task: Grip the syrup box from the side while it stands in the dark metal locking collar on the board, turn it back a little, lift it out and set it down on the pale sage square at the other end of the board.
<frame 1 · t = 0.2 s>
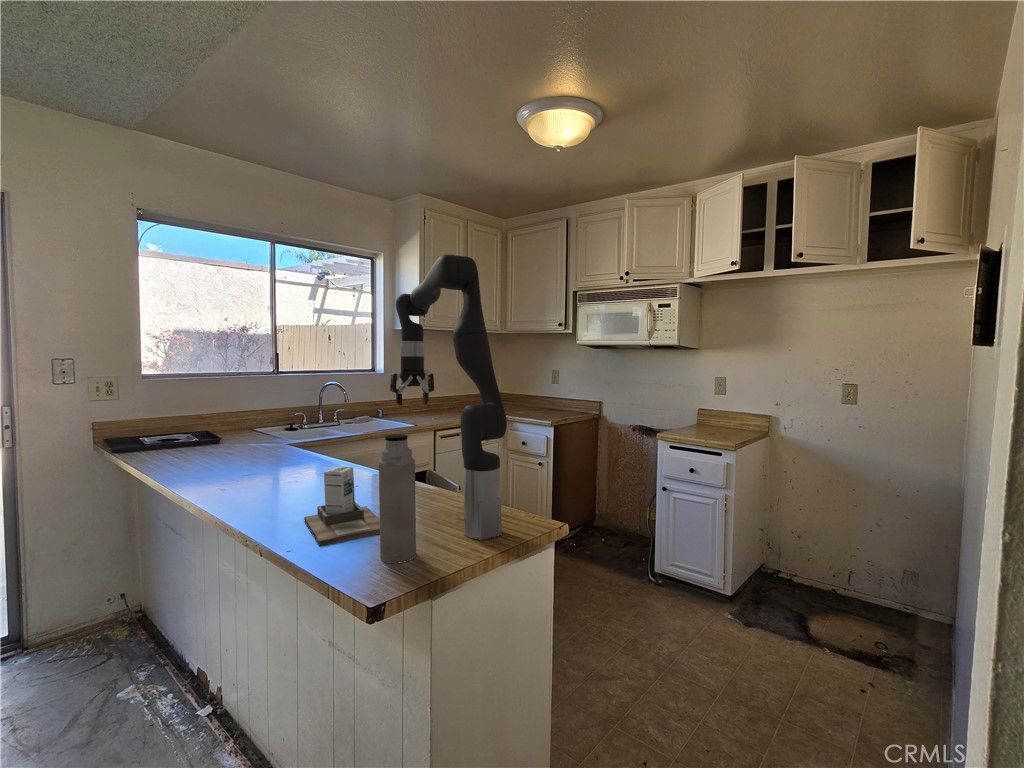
hand: (412, 404, 161), 29 cm above the worktop, tool pointing down, fingers open, 8 cm apart
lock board: (345, 526, 131), on the worktop
syrup box: (340, 521, 135), resting in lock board
thermos bottle: (398, 557, 112), on the worktop
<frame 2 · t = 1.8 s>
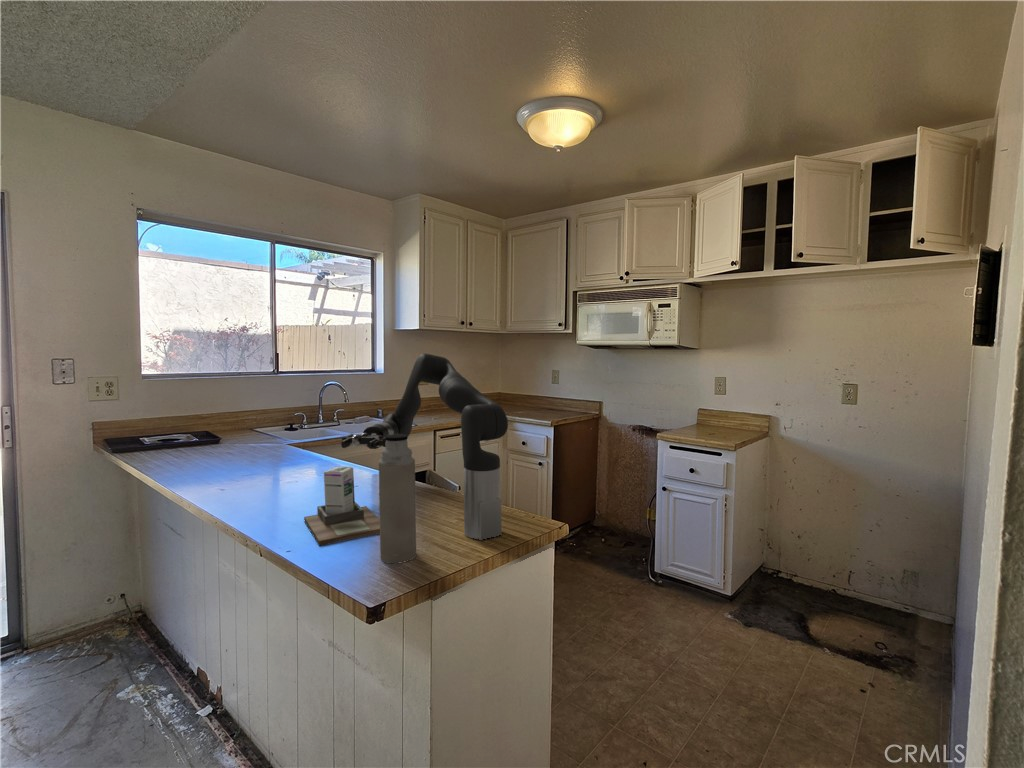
hand: (356, 445, 145), 19 cm above the worktop, tool horizontal, fingers open, 8 cm apart
nothing on the worktop moved.
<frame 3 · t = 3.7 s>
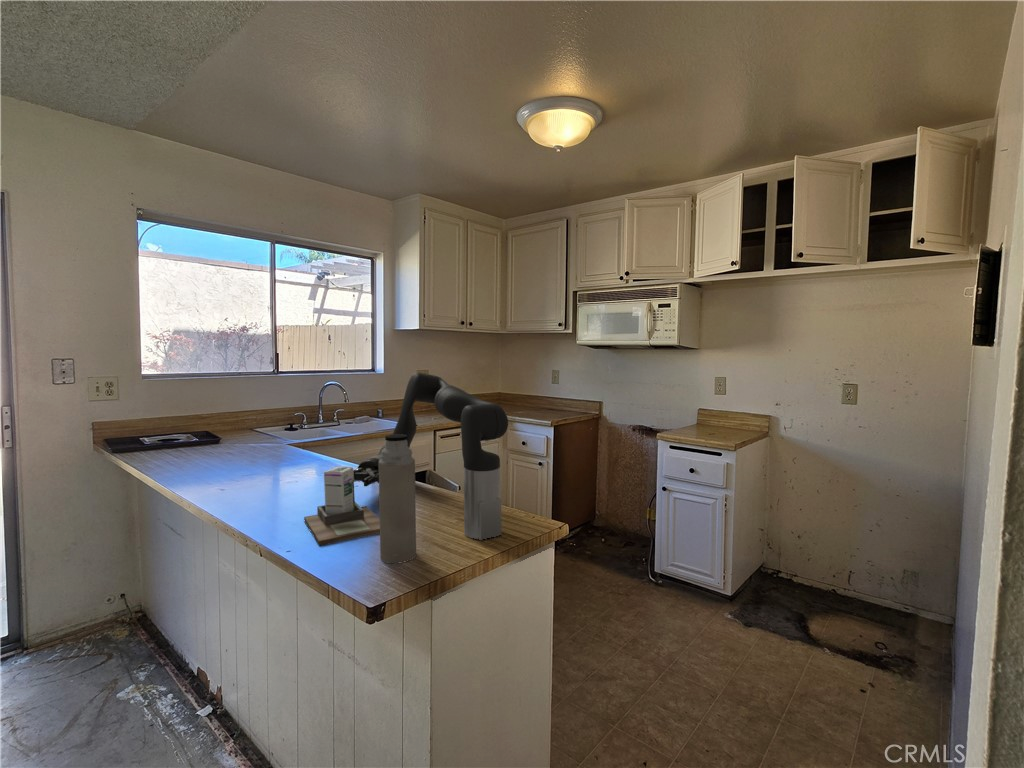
hand: (350, 482, 141), 9 cm above the worktop, tool horizontal, fingers open, 8 cm apart
nothing on the worktop moved.
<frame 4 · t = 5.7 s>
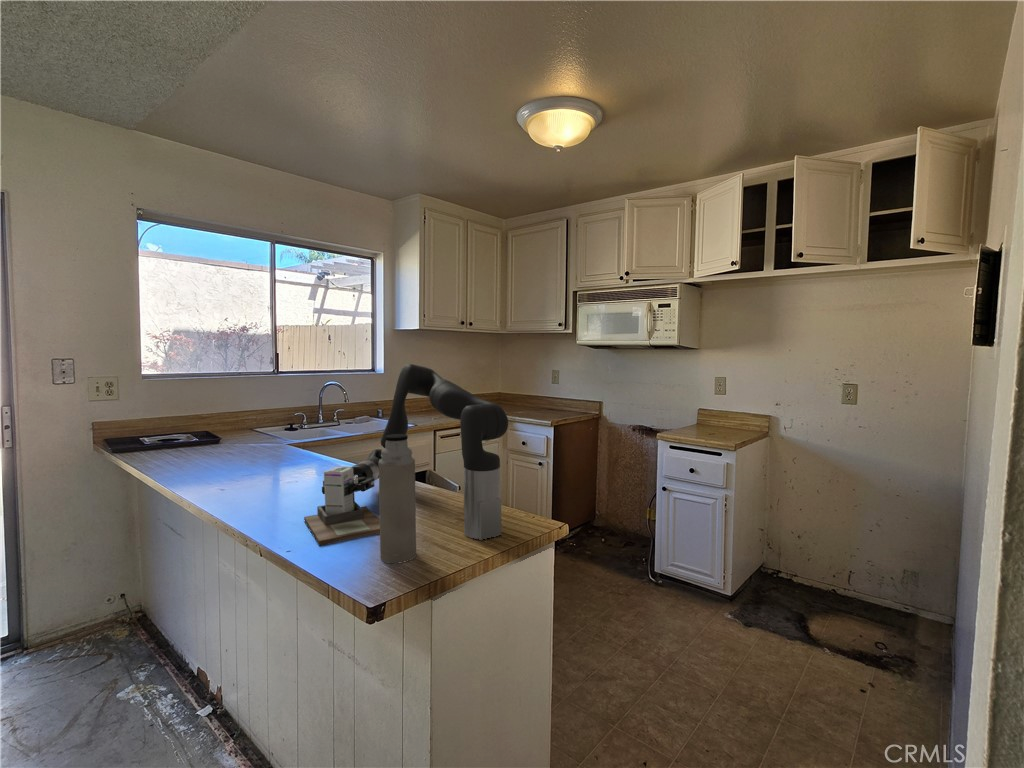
hand: (335, 491, 132), 9 cm above the worktop, tool horizontal, fingers closed on syrup box, 6 cm apart
syrup box: (340, 521, 135), resting in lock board, touching gripper
everything else where it was.
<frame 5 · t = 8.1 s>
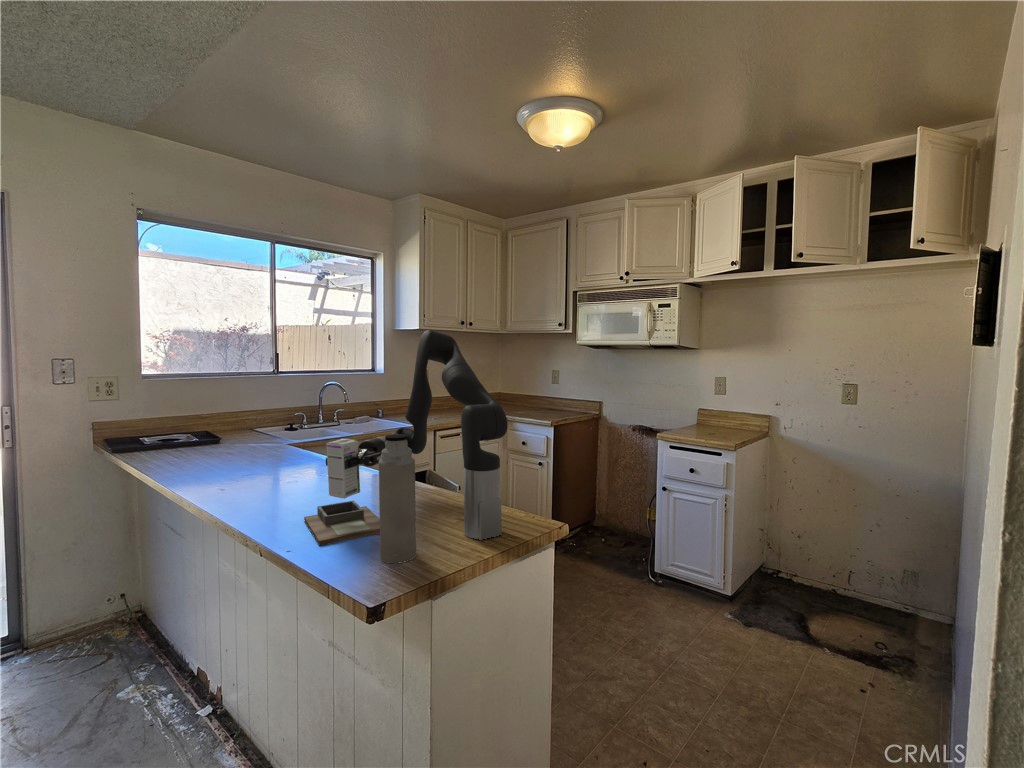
hand: (336, 463, 128), 18 cm above the worktop, tool horizontal, fingers closed on syrup box, 6 cm apart
syrup box: (344, 495, 131), point 8 cm above the worktop, touching gripper
everything else where it was.
when the fingers open (11 cm above the worktop, at t = 10.6 s): syrup box stays where it is, resting on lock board.
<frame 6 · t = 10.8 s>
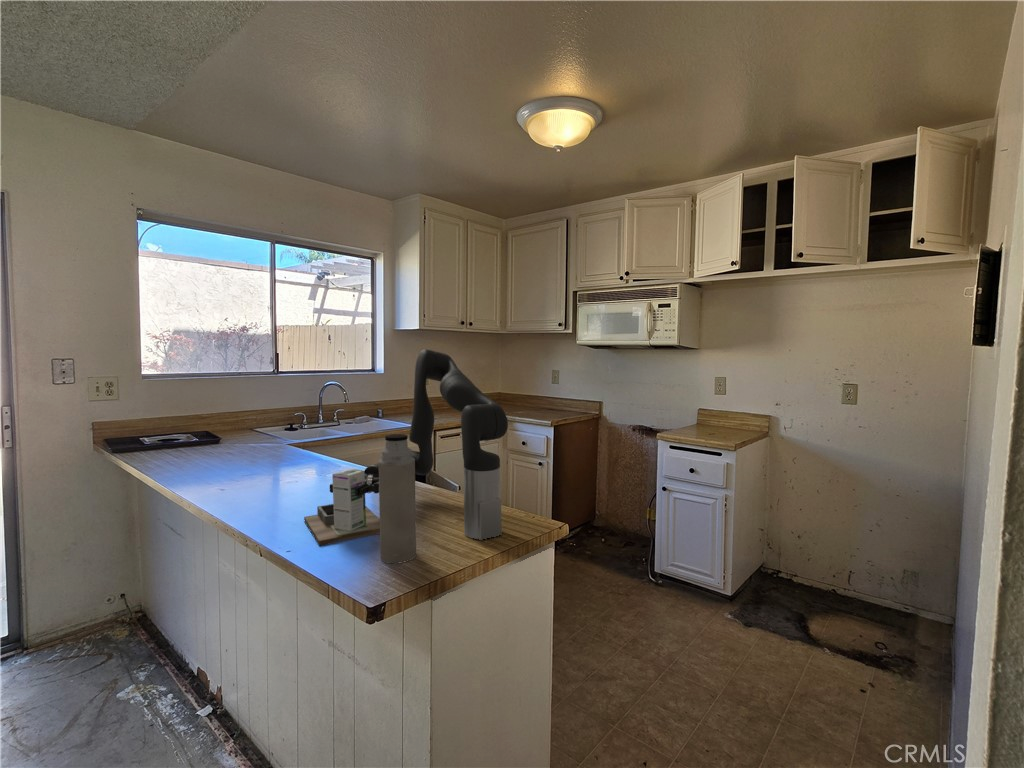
hand: (343, 490, 124), 11 cm above the worktop, tool horizontal, fingers open, 7 cm apart
syrup box: (350, 527, 127), point 1 cm above the worktop, touching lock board
everything else where it was.
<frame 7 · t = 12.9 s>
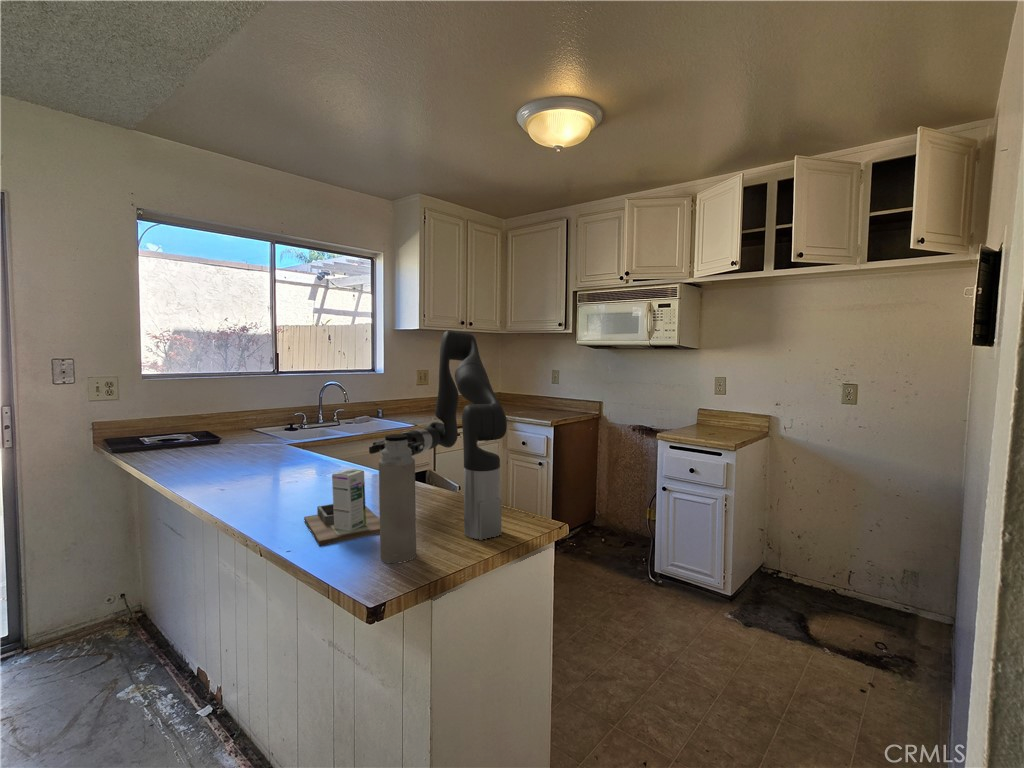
hand: (382, 451, 137), 19 cm above the worktop, tool horizontal, fingers open, 8 cm apart
nothing on the worktop moved.
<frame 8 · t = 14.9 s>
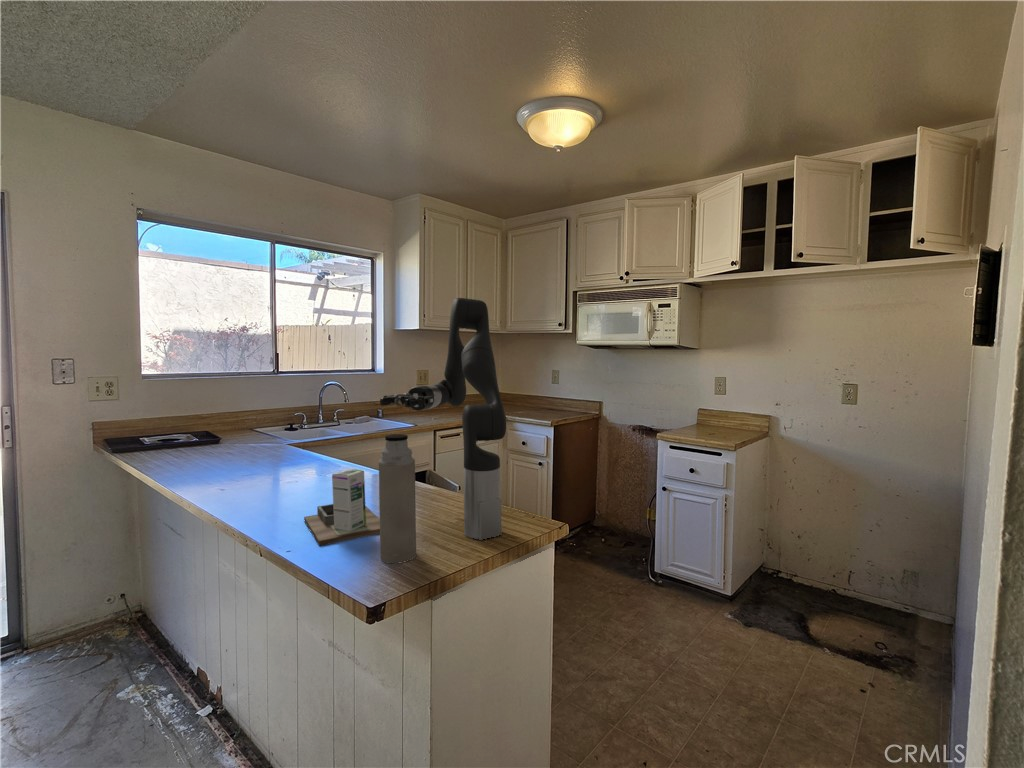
hand: (393, 402, 139), 32 cm above the worktop, tool horizontal, fingers open, 8 cm apart
nothing on the worktop moved.
at the end: syrup box inside the target area (0.3 cm from its centre), point 1.1 cm above the worktop; syrup box tilted 0°; the gripper is holding nothing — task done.
